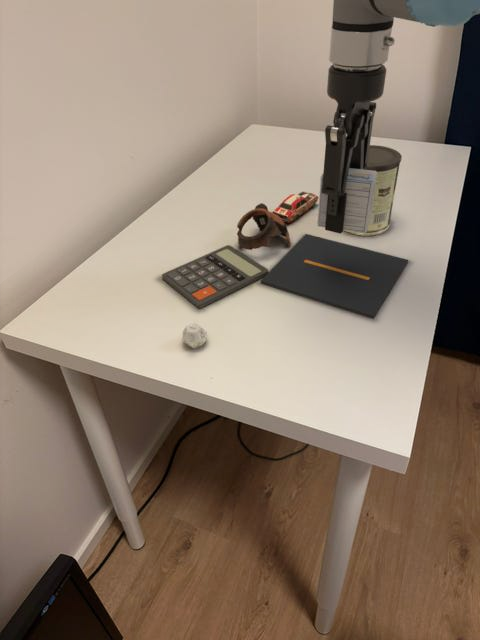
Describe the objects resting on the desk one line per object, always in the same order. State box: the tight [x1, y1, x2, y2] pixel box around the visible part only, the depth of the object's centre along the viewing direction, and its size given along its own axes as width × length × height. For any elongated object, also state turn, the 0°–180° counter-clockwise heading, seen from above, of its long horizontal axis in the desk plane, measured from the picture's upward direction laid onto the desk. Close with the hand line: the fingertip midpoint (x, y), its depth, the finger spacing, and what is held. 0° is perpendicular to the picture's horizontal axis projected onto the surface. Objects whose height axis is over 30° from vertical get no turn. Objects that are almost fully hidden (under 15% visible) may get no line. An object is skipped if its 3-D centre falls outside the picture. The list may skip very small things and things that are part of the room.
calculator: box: [161, 244, 269, 309], centre depth 85 cm, size 12×1×15 cm
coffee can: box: [344, 144, 403, 237], centre depth 93 cm, size 10×10×14 cm
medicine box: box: [316, 168, 377, 233], centre depth 76 cm, size 8×4×9 cm, turn 70°
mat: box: [260, 233, 409, 320], centre depth 84 cm, size 20×18×1 cm
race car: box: [271, 191, 319, 224], centre depth 101 cm, size 5×12×5 cm, turn 137°
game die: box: [181, 322, 208, 349], centre depth 71 cm, size 4×4×3 cm
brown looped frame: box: [236, 203, 292, 251], centre depth 92 cm, size 12×10×8 cm
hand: (340, 222), depth 79 cm, fingers closed on medicine box, 5 cm apart
